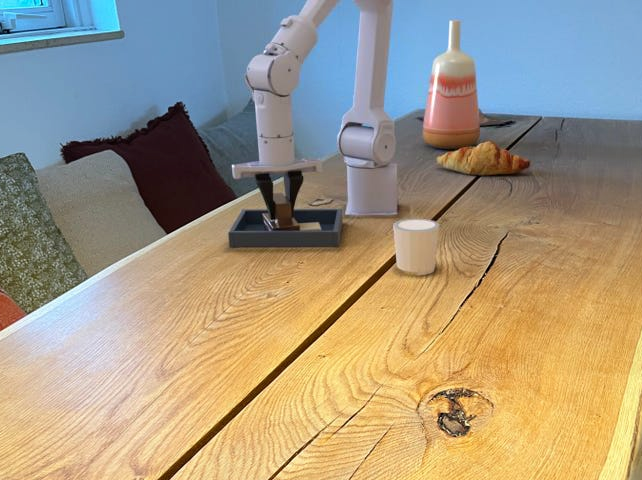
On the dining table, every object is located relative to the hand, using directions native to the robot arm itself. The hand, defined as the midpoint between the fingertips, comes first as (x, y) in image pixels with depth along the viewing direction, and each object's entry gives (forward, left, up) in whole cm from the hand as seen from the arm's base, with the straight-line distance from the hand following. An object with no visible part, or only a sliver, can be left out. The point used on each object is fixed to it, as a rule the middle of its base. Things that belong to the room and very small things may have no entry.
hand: (280, 217), depth 133 cm
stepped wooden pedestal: (0, 0, -3) cm, 3 cm away
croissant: (-39, -48, -4) cm, 62 cm away
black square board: (-32, -96, -2) cm, 101 cm away
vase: (-34, -76, -4) cm, 83 cm away
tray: (-1, 0, -3) cm, 4 cm away
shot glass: (-22, +16, -4) cm, 28 cm away
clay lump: (-4, -1, -3) cm, 5 cm away
